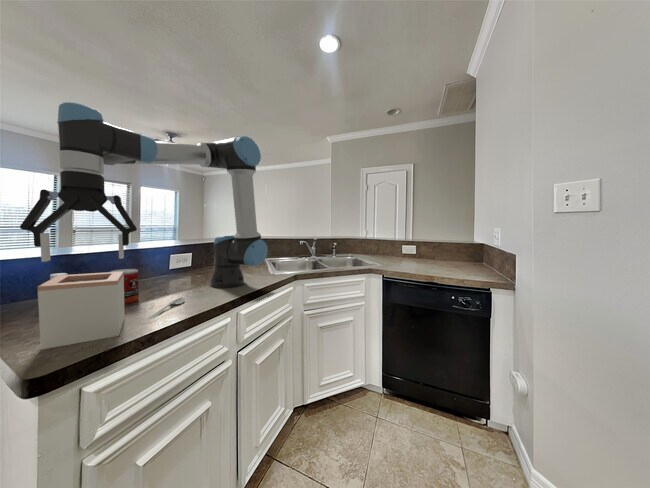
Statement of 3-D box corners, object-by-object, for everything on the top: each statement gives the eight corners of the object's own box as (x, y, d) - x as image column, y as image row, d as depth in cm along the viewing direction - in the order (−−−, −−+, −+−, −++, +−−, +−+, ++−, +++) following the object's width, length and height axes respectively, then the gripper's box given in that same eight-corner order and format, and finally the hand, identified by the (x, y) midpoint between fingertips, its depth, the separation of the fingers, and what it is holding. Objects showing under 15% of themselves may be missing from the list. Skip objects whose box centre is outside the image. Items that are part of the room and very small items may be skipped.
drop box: (124, 318, 70) (123, 271, 69) (118, 335, 60) (117, 280, 59) (60, 328, 63) (58, 275, 62) (40, 349, 52) (37, 286, 51)
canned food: (123, 305, 81) (122, 273, 80) (104, 303, 82) (103, 271, 81) (144, 299, 88) (143, 269, 87) (126, 297, 90) (126, 268, 89)
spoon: (187, 301, 88) (187, 297, 88) (149, 324, 68) (149, 318, 68) (176, 301, 88) (176, 297, 88) (134, 324, 68) (134, 318, 67)
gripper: (147, 182, 69) (148, 255, 70) (10, 167, 54) (15, 259, 56) (146, 178, 62) (147, 258, 64) (-8, 160, 48) (-2, 264, 50)
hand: (86, 259), depth 60 cm, fingers open, 13 cm apart
